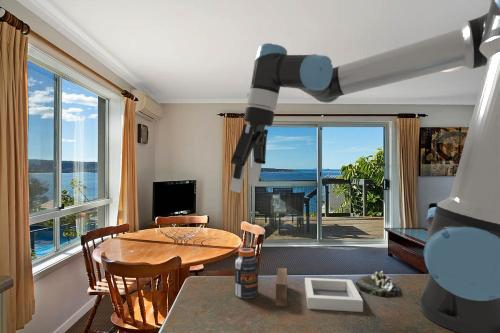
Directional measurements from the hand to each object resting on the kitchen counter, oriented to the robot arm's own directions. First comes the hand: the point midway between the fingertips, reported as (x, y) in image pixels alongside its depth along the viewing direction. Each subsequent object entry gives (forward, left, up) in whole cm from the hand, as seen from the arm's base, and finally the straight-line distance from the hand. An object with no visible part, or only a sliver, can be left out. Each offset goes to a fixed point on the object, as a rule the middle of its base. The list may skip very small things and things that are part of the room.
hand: (244, 188), depth 74 cm
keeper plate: (-22, +2, -27) cm, 35 cm away
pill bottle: (-1, +2, -27) cm, 27 cm away
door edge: (-10, +2, -27) cm, 29 cm away
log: (-35, -6, -28) cm, 45 cm away
